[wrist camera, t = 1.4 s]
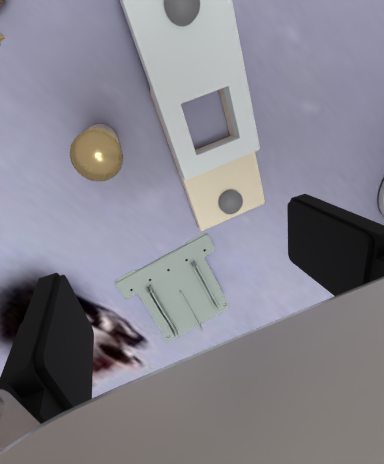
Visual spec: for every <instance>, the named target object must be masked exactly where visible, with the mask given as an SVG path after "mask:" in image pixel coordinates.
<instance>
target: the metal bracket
mask: <svg viewBox="0 0 384 464" xmlns="http://www.w3.org/2000/svg"><path fill="white" fill-rule="evenodd" d="M204 249H206V251H203V250H204ZM214 251H215V247H214V245H213V243H212V241H211V239H210V237H209V236H208V234H207V233H204V234H202V235H200V236H198V237H196V238H194V239H192V240H190V241H188V242H186V244H185V245H184V246H182V247H180V248H178V249H176V250H174V251H172V252H171V253H169V254H167V255H165V256H163V257H161V258H159V259H158V260H156V261H154V262H152V263H150V264H148V265H146V266H144V267H143V268H141V269H139V270H133V271H131V272H129V273H127V274H125V275H123V276H121V277H119V278H118V279H117V280H116V282H115V284H116V286H117V288H118V289H119V291H120V293H121V294H122V296H123V297H124V298H125V299H128V298H130V297H131V296H133V295H135V294H138V295H139V296H140V298H141V300H142V301H143V303H144V304H145V306H146V308H147V309H148V311H149V313H150V314H151V316H152V318H153V319H154V321H155V323H156V324H157V326H158V328H159V329H160V331H161V333H162V334H163V336H164V337H165V339H166V341H167V342H170V341H172V340H174V339H175V338H177V337H179V336H181V335H182V334H184V333H186V332H188V331H190V330H191V329H193V328H195V327H197V326H199V328H200V329H201V331H203V330H202V327H201V325H200V324H202V323H204V322H206V321H207V320H209V319H211V318H213V317H214V316H216V315H218V314H220V313H222V312H223V311H225V310H227V309H229V308H230V305H229V303H228V302H227V300H226V298H225V296H224V294H223V292H222V290H221V288H220V286H219V284H218V282H217V280H216V279H215V277H214V275H213V273H212V271H211V269H210V267H209V265H208V263H207V261H206V259H205V256H207V255H208V254H210V253H212V252H214ZM186 259H188V261H185V260H186ZM167 269H170V270H169V271H167ZM149 279H151V281H149ZM130 289H133V291H131V290H130ZM224 303H226V305H225V306H224V305H223V304H224ZM167 335H170V337H167Z"/></svg>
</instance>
